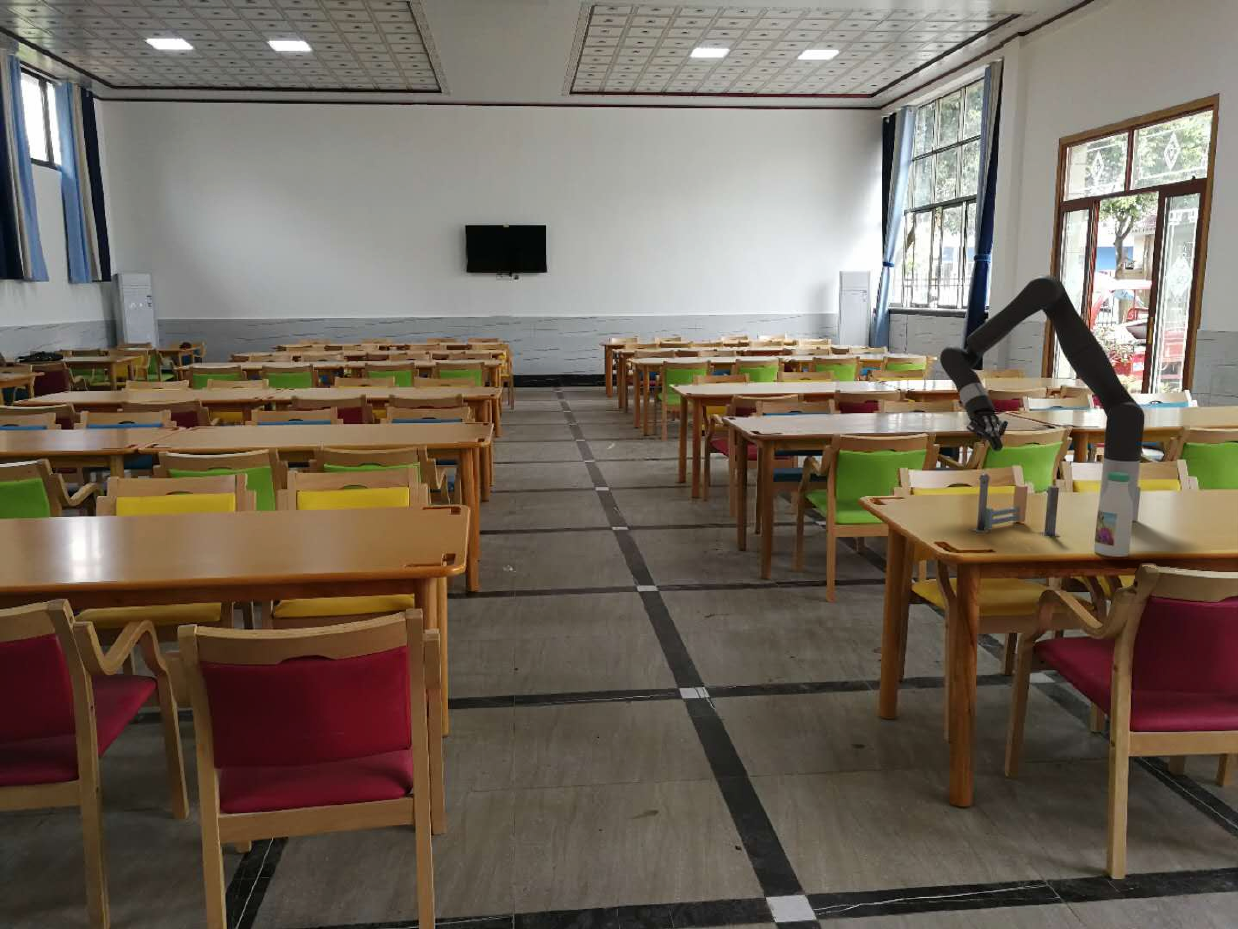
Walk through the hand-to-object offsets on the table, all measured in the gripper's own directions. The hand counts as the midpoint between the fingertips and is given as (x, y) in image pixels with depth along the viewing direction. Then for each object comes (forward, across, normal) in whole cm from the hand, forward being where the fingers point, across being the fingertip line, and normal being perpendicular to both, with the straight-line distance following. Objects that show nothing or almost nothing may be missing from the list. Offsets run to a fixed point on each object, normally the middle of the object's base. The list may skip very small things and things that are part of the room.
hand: (998, 449), depth 271 cm
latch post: (+31, -1, -4) cm, 31 cm away
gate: (+22, -6, +4) cm, 24 cm away
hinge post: (+25, -16, +2) cm, 30 cm away
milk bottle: (+45, +2, -18) cm, 48 cm away
